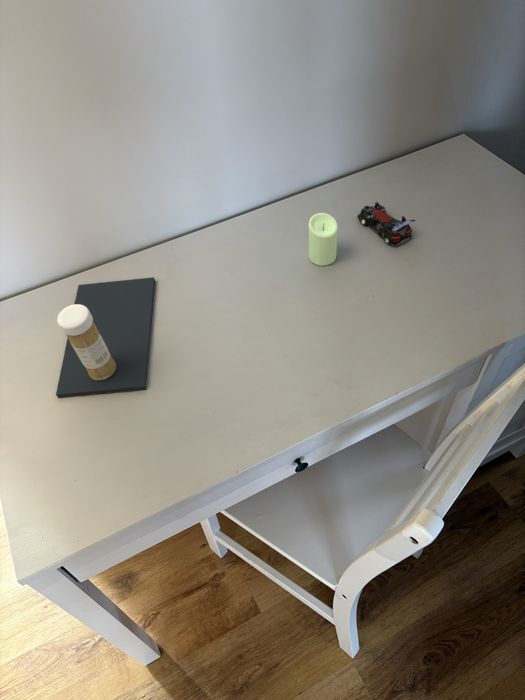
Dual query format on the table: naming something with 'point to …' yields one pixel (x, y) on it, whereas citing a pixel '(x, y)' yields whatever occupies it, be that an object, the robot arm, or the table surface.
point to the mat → (113, 337)
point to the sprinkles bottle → (86, 341)
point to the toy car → (385, 224)
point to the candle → (322, 239)
